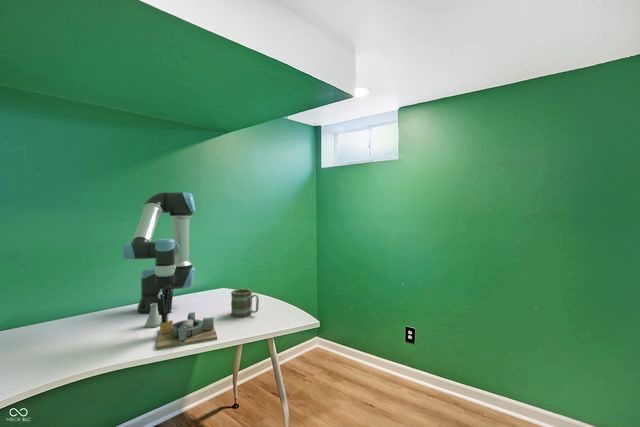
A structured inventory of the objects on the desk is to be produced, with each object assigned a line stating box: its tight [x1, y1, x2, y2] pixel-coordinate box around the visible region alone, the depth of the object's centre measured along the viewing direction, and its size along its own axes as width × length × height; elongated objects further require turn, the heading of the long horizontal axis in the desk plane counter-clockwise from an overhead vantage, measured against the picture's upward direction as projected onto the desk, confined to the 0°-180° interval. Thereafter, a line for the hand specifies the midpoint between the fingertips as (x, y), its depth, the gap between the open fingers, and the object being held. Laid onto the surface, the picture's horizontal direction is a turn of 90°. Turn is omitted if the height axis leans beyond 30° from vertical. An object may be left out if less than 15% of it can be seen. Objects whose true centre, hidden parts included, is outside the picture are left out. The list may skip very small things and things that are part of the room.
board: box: [156, 319, 218, 351], centre depth 129 cm, size 22×22×6 cm
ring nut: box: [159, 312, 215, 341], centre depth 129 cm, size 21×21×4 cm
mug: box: [230, 288, 260, 319], centre depth 155 cm, size 16×11×12 cm
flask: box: [144, 303, 161, 329], centre depth 140 cm, size 7×7×10 cm
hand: (165, 329), depth 129 cm, fingers closed
